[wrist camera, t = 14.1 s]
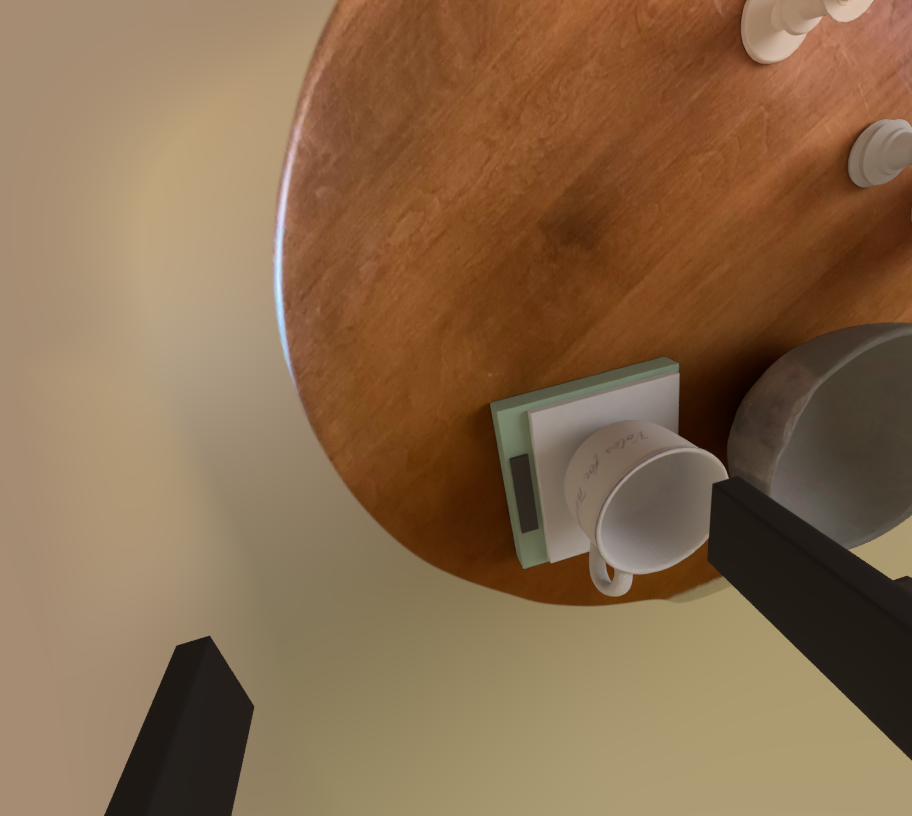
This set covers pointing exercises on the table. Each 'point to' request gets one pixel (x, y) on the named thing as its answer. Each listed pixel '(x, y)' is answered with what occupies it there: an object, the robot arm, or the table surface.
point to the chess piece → (880, 152)
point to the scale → (569, 446)
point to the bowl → (833, 432)
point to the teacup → (640, 499)
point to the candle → (789, 24)
